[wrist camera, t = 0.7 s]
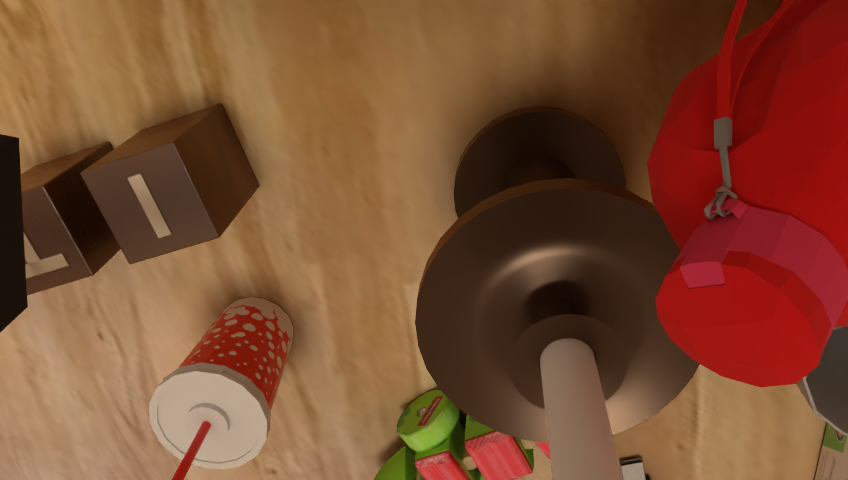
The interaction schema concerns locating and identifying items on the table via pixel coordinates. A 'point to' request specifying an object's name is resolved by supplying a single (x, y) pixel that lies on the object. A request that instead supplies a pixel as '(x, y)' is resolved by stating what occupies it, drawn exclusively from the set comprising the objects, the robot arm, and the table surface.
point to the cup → (830, 382)
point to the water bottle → (759, 196)
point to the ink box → (833, 456)
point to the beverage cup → (224, 388)
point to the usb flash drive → (633, 470)
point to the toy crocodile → (455, 446)
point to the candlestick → (551, 293)
